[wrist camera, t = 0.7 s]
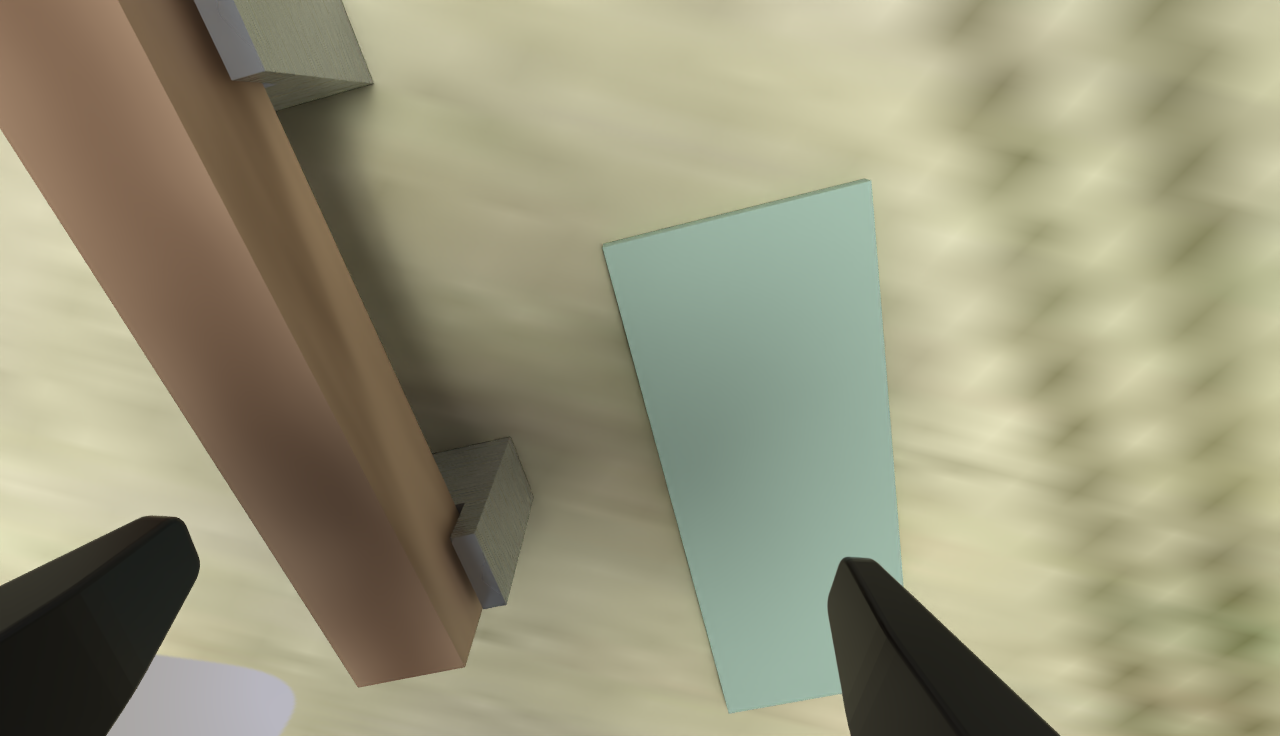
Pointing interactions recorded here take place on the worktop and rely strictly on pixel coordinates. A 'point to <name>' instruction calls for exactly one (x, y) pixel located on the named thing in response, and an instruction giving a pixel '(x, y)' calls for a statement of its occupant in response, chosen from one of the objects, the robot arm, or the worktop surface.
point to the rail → (242, 313)
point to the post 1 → (287, 47)
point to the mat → (767, 421)
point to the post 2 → (487, 514)
